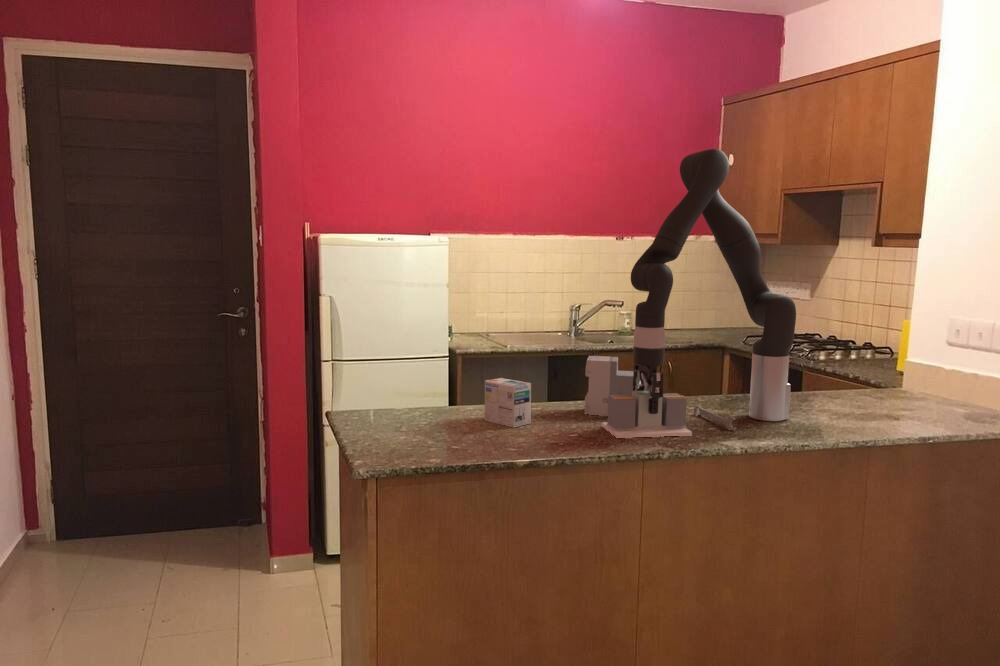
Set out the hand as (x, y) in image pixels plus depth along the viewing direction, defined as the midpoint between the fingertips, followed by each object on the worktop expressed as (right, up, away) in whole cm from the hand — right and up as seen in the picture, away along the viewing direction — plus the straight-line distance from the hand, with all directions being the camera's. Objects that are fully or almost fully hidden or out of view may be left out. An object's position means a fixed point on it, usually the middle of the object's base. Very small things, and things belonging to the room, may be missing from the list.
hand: (646, 409), depth 189 cm
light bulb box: (-34, -4, +8) cm, 35 cm away
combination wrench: (+20, -5, +10) cm, 23 cm away
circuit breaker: (-6, -3, +19) cm, 20 cm away
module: (0, -4, 0) cm, 4 cm away
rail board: (0, -5, +1) cm, 5 cm away
